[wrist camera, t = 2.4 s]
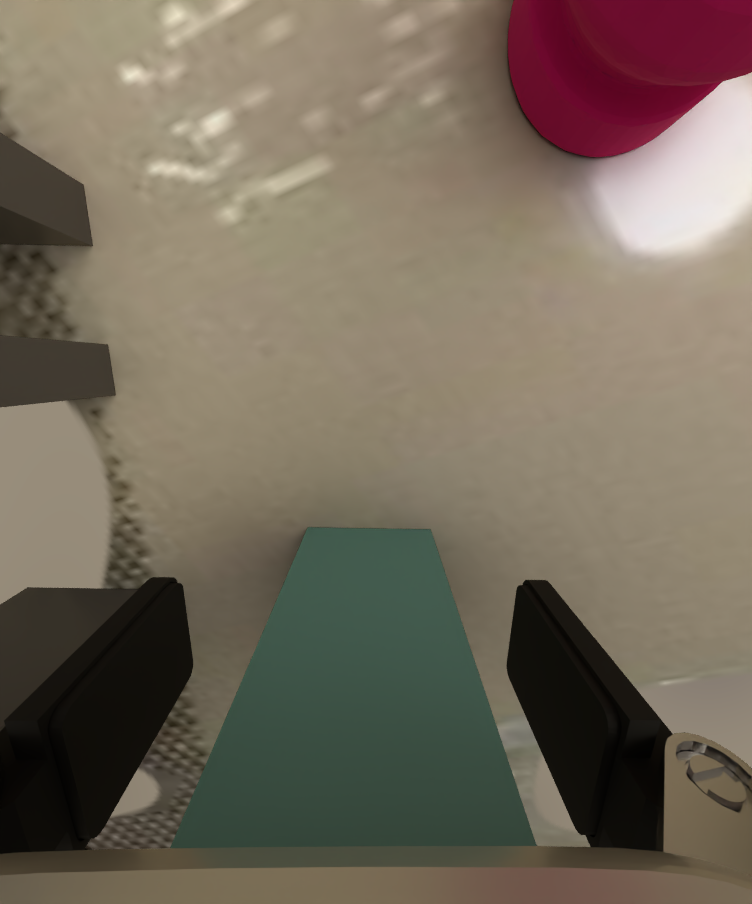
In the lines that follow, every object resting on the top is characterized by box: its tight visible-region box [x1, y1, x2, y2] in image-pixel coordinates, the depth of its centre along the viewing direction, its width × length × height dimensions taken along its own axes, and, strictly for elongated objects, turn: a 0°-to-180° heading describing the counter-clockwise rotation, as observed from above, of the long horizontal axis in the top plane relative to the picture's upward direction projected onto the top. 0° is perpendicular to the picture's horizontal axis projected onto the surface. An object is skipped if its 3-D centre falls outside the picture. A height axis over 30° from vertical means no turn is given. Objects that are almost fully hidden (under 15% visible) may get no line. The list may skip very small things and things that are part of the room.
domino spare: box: [170, 527, 536, 848], centre depth 10 cm, size 2×5×10 cm, turn 89°
